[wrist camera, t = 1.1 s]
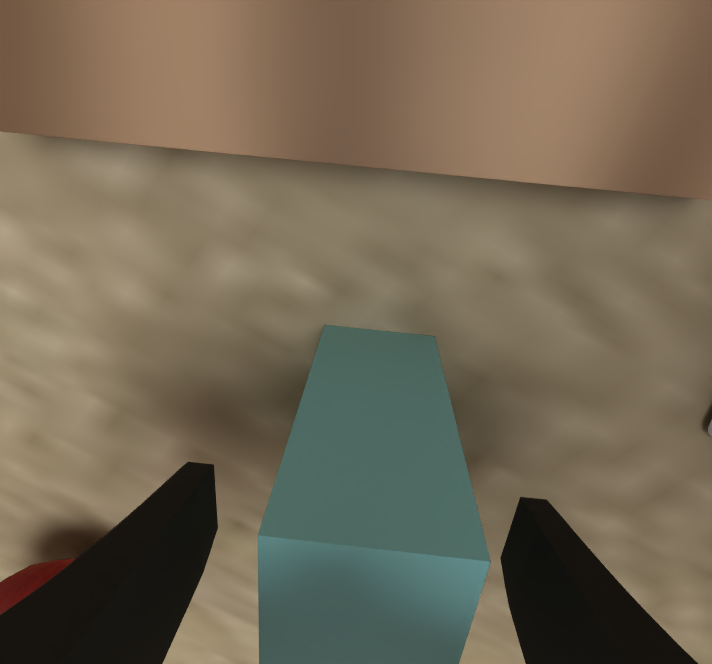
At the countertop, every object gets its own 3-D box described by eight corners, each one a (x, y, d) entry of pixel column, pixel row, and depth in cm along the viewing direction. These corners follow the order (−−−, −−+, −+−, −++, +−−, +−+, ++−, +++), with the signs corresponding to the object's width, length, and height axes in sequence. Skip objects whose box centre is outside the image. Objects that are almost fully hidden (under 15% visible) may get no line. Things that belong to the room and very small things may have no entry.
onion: (8, 522, 18) (-237, 775, 11) (129, 505, 18) (-51, 766, 10) (74, 610, 21) (-94, 868, 13) (185, 598, 20) (69, 867, 13)
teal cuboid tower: (434, 336, 14) (490, 561, 6) (412, 459, 16) (436, 735, 9) (324, 324, 14) (258, 535, 7) (316, 449, 16) (259, 714, 9)
